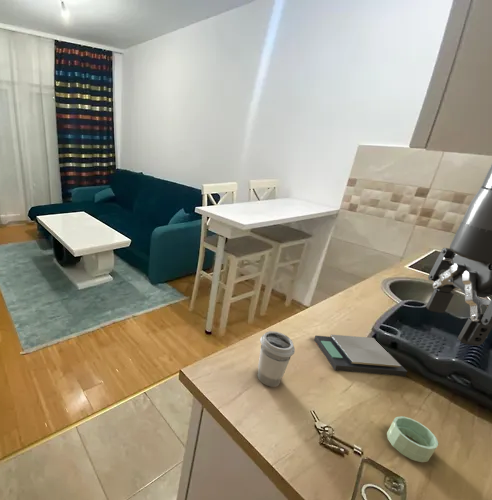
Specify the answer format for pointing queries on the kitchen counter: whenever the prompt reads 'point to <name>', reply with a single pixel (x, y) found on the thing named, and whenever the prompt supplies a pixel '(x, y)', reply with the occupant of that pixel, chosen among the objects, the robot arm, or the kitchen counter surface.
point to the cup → (274, 357)
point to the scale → (343, 364)
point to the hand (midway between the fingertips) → (449, 325)
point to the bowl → (416, 432)
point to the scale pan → (364, 351)
